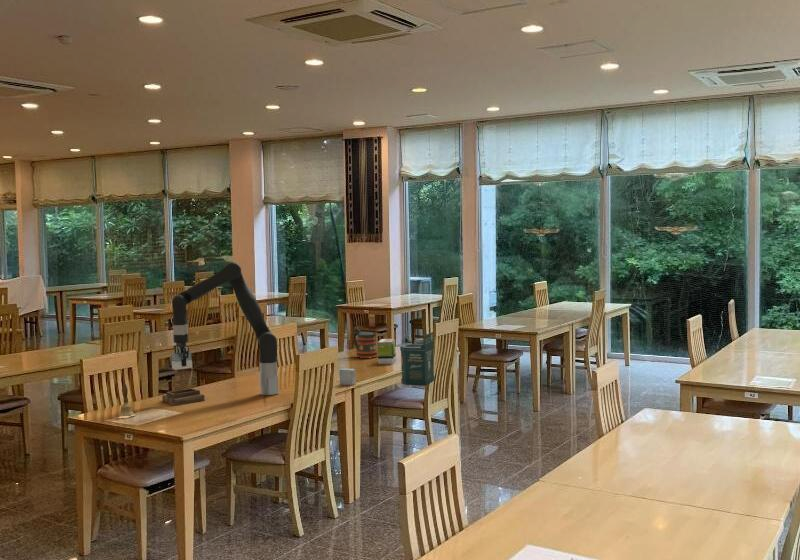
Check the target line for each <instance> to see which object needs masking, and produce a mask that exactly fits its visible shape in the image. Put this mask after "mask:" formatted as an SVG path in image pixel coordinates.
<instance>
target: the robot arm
mask: <svg viewBox="0 0 800 560" xmlns="http://www.w3.org/2000/svg"><path fill="white" fill-rule="evenodd" d="M242 273H243V272H242V268H241V266H240V264H239V263H237V262H234V261H229V262H227V263H225V264H224V266H223V268H222V269H221V270H219V272H217V273H215V274H214V275H211V276H210V277H208V278H206V279H204V280H201V281H200V282H198V283H196V284H194V285H192V286H191V287H189V288H188V289H186V290H184V291H182V292H180V293H178V294H176V295H175V296H174V297H173V298H172V301H171V305H172V306H171V307H172V313H173V314H172V315H173V316H172V335H173V336H172V338H173V339H172V340H173V343H174V344H175V345H173V350H174V351H173V352H174V353H180V355H181V358H182V366H183V367H184V366H186V359H187V358H188V356H189V352H190V347H189V346H187V343H188V342H189V327H188V316H187V305H188V304H190V303H192V302H193V301H196V300H199V299H201V298H202V297H203V296H205V295H206V294H208V293H209V292H211V291H213V290H215V289H216V288H218V287H220V286H222V285H224V284H226V283H229V284H230V285H231V288H232V289H233V292H234V295H235V297H236V300H237V302H238V304H239V308H240V309H241V312H242V313H243V315H244V317H245V318H246V320H247V322H248V323H249V324H250V326H251V328H252V329H253V332H254V334H255V337H256V340H257V343H258V345H259V382H260V383H259V385H260V395H262V396H274V395H279V394H280V392H279V376H278V341H277V337H276V335H275V334H273V333H272V331H271V330H270V328H269V326H268V325H267V323H266V321H265V318H264V316H263V312H262V309H261V307H260V304H259V302H258V300H257V299H256V297H255V295H254V293H253V292H252V290H251V289H250V288H249V286H248V284H247V283H246V281H245V278H244V277H243V274H242ZM186 354H187V355H186Z"/></svg>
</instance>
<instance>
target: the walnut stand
mask: <svg viewBox="0 0 800 560" xmlns="http://www.w3.org/2000/svg"><path fill="white" fill-rule="evenodd" d="M165 392H166V393H165V394H163V395H162V402H164V401H165V402H164V403H168V404H170V405H174V406H180V405H186V404H191V403H192V404H193V403H197V402H204V401H205V394H203V393H201V390H199V389H196V388H193V387H189V388H183V389H179V390H178V389H177V390H171V391H165Z"/></svg>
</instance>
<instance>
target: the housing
mask: <svg viewBox="0 0 800 560" xmlns="http://www.w3.org/2000/svg"><path fill="white" fill-rule="evenodd" d="M171 355H172V356H171V358H172V359H171V360H172V361H171V368H172V370H175V371H177V370H185V369H192V368H193V359H192V353H191V352H190V351H189V356H188V358H187V359H186V366H184V367H183V366H182V358H181V355H180V353H175V352H174V353H172V354H171ZM186 355H187V354H186Z"/></svg>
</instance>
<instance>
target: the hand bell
mask: <svg viewBox="0 0 800 560" xmlns="http://www.w3.org/2000/svg"><path fill="white" fill-rule="evenodd" d="M128 392H129V389H128V386H127V384H126V383H122V388H121V394H122V397H123V404H122V405H121V406H120V412H119V414H118V416H131V415H134V414H135V413H134V412H133V410H132V406H131V404H128Z"/></svg>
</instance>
